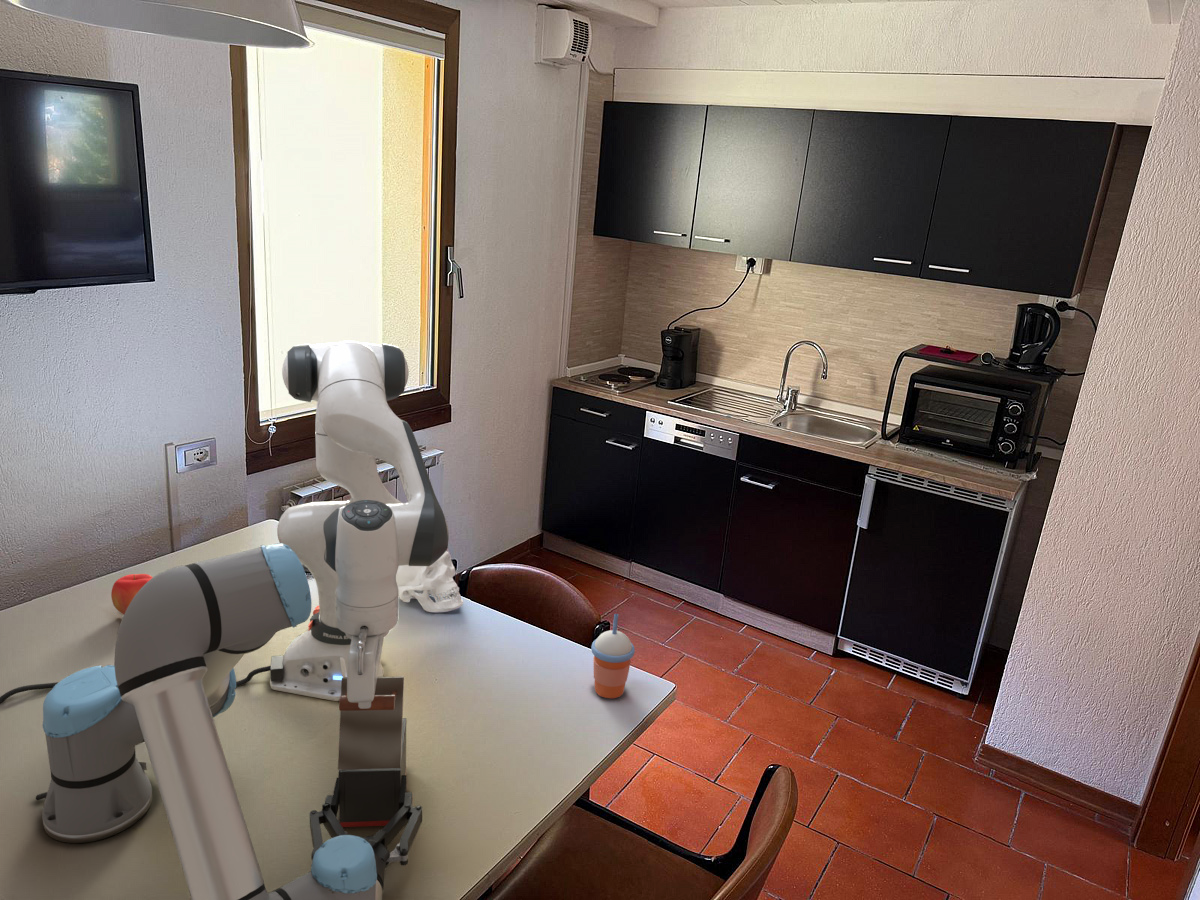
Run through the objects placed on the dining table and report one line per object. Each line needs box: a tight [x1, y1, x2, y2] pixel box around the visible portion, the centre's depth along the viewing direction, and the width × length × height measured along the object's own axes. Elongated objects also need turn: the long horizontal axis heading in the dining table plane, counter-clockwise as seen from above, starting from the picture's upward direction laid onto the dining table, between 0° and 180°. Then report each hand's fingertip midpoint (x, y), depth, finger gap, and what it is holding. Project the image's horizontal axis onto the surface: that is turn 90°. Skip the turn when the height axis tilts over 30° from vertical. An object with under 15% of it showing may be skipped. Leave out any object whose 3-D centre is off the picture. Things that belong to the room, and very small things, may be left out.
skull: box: [396, 550, 465, 614], centre depth 211 cm, size 13×22×16 cm, turn 67°
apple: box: [110, 573, 154, 616], centre depth 194 cm, size 10×10×10 cm
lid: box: [337, 675, 405, 771], centre depth 132 cm, size 14×10×10 cm
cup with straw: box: [590, 613, 636, 699], centre depth 179 cm, size 9×9×18 cm
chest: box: [337, 717, 407, 828], centre depth 143 cm, size 13×10×11 cm
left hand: (371, 783), depth 140 cm, fingers closed on chest, 10 cm apart
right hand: (367, 692), depth 129 cm, fingers open, 5 cm apart
